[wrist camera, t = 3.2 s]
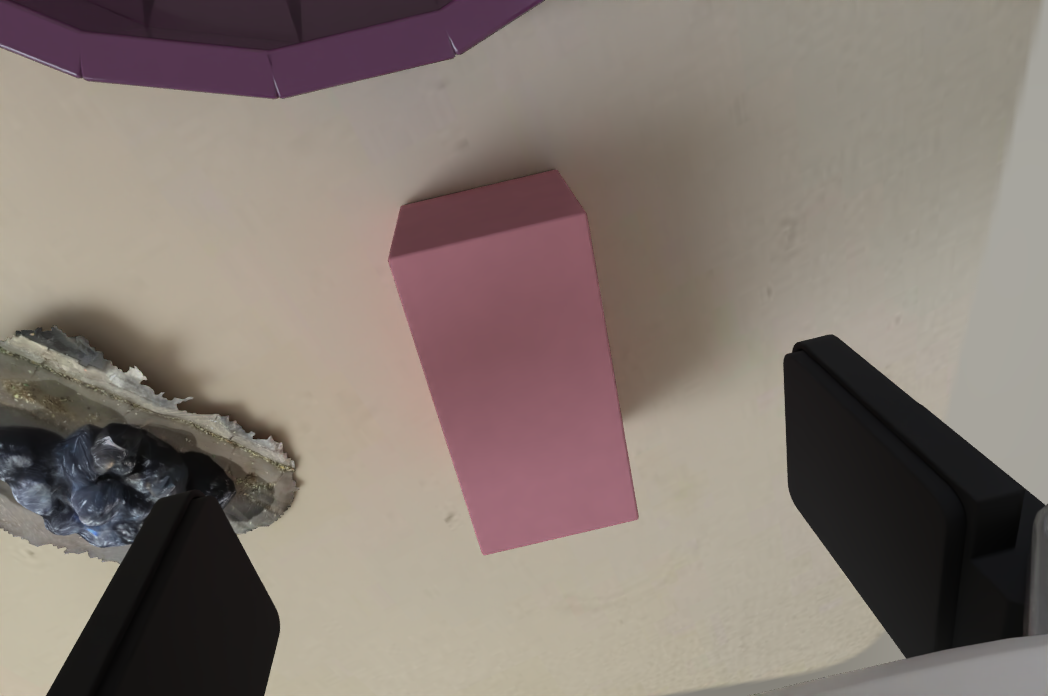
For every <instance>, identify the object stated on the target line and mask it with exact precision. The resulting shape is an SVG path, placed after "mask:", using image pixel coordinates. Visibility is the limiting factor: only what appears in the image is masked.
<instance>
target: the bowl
mask: <svg viewBox="0 0 1048 696" xmlns="http://www.w3.org/2000/svg"><path fill="white" fill-rule="evenodd" d="M543 1H545V0H0V48H2V49H5V50H7V51H10V52H13V53H15V54H18V55H20V56H23V57H25V58H28V59H30V60H33V61H35V62H38V63H40V64H43V65H45V66H48V67H50V68H53V69H55V70H58V71H60V72H63V73H66V74H68V75H71V76H73V77H76V78H83V79H84V80H87V81H91V82H101V83H112V84H122V85H132V86H143V87H153V88H164V89H174V90H184V91H195V92H205V93H216V94H226V95H237V96H247V97H257V98H268V99H277V98H279V97H280V98H282V99H284V98H288V97H293V96H297V95H301V94H305V93H309V92H314V91H318V90H322V89H326V88H331V87H335V86H339V85H343V84H347V83H352V82H356V81H360V80H364V79H369V78H373V77H377V76H381V75H385V74H390V73H394V72H398V71H402V70H406V69H411V68H415V67H419V66H423V65H428V64H432V63H436V62H440V61H444V60H449V59H453V58H454V57H455V55H461V54H463V53H464V52H466V51H468V50H469V49H471V48H472V47H474V46H475V45H477V44H478V43H480V42H481V41H483V40H485V39H486V38H488V37H489V36H491V35H492V34H494V33H495V32H497V31H498V30H500V29H502V28H503V27H505V26H506V25H508V24H509V23H511V22H512V21H514V20H516V19H517V18H519V17H520V16H522V15H523V14H525V13H526V12H528V11H529V10H531V9H533V8H534V7H536V6H537V5H539V4H540V3H542V2H543Z"/></svg>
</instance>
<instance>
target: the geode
mask: <svg viewBox="0 0 1048 696" xmlns="http://www.w3.org/2000/svg"><path fill="white" fill-rule="evenodd" d="M53 326H54V327H51V329H52V331H43V332H42V328H37V329H36V330H35V331H32V330H22V331H21V332H20V331H16V335H14V334H13V337H12V339H9V338H8V337H7V338H6V340H5V342H3V341H0V528H3V529H4V531H8V533H9V534H13V537H19V536H21V539H26V540H28V541H29V544H32V545H35V546H37V547H38V546H41V545H45V544H53V546H57V548H63V547H66V548H67V549H66V550H65V551H64V553H65V554H66V553H76V554H80V553H83V552H86V551H88V555H89V557H90V558H93V557H98V559H102V562H105V561H113V562H118V563H119V564H121V562H122V561H123V559H124V557H125V555H126V553H127V552H128V550H129V548H130V546H131V545H132V543H133V541H134V539H135V538H136V536H137V534H138V532H139V531H140V529H141V527H142V525H143V523H144V522H145V520H146V518H147V516H148V515H149V513H150V511H151V509H152V508H153V506H154V504H155V503H156V501H157V500H158V499H160V498H163V497H166V496H171V495H175V494H179V493H183V492H187V491H191V490H195V489H196V490H200V491H201V492H203V493H204V494H205V496H209V495H211V496H214V497H215V498H216V499H217V500H218V502H219V504H220V505H221V507H222V509H223V511H224V513H225V515H226V517H227V518H228V520H229V522H230V524H231V526H232V528H233V530H234V531H235V533H236V534H239V533H246V532H247V531H252V529H256V528H257V527H261V526H269V525H271V524H272V523H273V522H274V521H277V520H278V518H281V516H280V515H284V513H283V512H285V511H286V510H288V508H287V507H291V505H290V502H292V501H293V499H294V497H293V491H297V490H299V487H296V481H293V480H292V473H293V472H294V471H295V465H294V461H292V460H291V458H288V459H287V453H284V454H283V445H282V442H281V443H278V442H276V441H274V440H273V439H272V436H270V437H269V438H268V439H267V440H264V439H252V437H253V436H254V435H255V433H254V432H252V431H251V432H250V433H249V434H248V433H245V430H243V429H242V426H240V425H239V424H237V422H236V420H235V421H233V422H229V415H228V416H220V415H219V414H196V413H193V414H191V413H187V411H186V410H185V411H179V410H178V408H177V405H176V404H178V403H181V402H182V401H187V400H189V399H193V397H187V398H186V399H179V398H175V397H174V399H173V400H172V401H169V400H167V398H163V396H162V395H163V394H164V393H165V392H161V393H160V394H159V395H155V394H154V391H153V389H151V388H150V387H149V386H146V385H141V384H140V382H141V381H142V380H147V379H146V376H144V375H143V374H142V372H141V371H140V370H139V369H138V368H137V367H136V366H135V368H131V367H130V366H129V368H130V370H129V371H127V372H126V373H124V372H122V369H118V368H117V366H112V362H111V360H107V359H103V352H100V351H95V348H91V347H90V346H89V341H88V340H87V339H86V338H85V337H83V336H81V335H79V336H78V337H77V336H75V337H67V336H66V333H62V330H61V329H58V328H57V326H56V325H53ZM42 347H43V348H42ZM230 415H231V414H230ZM79 537H81V538H79Z"/></svg>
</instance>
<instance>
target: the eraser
mask: <svg viewBox="0 0 1048 696" xmlns="http://www.w3.org/2000/svg"><path fill="white" fill-rule="evenodd" d="M388 262H389V265H390V268H391V271H392V274H393V278H394V281H395V284H396V287H397V290H398V293H399V296H400V299H401V303H402V306H403V309H404V312H405V315H406V318H407V321H408V324H409V327H410V331H411V334H412V337H413V340H414V343H415V346H416V349H417V352H418V355H419V359H420V362H421V365H422V368H423V371H424V374H425V377H426V380H427V383H428V387H429V390H430V393H431V396H432V399H433V402H434V405H435V408H436V412H437V415H438V418H439V421H440V424H441V427H442V430H443V433H444V436H445V440H446V443H447V446H448V449H449V452H450V455H451V458H452V461H453V464H454V468H455V471H456V474H457V477H458V480H459V483H460V486H461V489H462V492H463V496H464V499H465V502H466V505H467V508H468V511H469V514H470V517H471V521H472V524H473V527H474V530H475V533H476V536H477V539H478V542H479V545H480V549H481V552H482V554H483V555H488V554H492V553H496V552H501V551H505V550H509V549H514V548H518V547H522V546H527V545H531V544H535V543H539V542H544V541H548V540H552V539H557V538H561V537H565V536H569V535H574V534H578V533H582V532H587V531H591V530H595V529H599V528H604V527H608V526H612V525H617V524H621V523H625V522H630V521H634V520H637V519H638V517H639V516H638V510H637V504H636V498H635V492H634V487H633V481H632V475H631V469H630V463H629V457H628V451H627V446H626V440H625V434H624V428H623V422H622V416H621V411H620V405H619V399H618V393H617V387H616V381H615V376H614V370H613V364H612V358H611V352H610V346H609V341H608V335H607V329H606V323H605V317H604V311H603V306H602V300H601V294H600V288H599V282H598V276H597V271H596V265H595V259H594V253H593V247H592V241H591V236H590V230H589V224H588V218H587V214H586V212H585V211H584V209H583V208H582V206H581V205H580V203H579V202H578V200H577V199H576V197H575V196H574V194H573V193H572V191H571V190H570V188H569V187H568V185H567V184H566V182H565V181H564V179H563V178H562V176H561V175H560V173H559V172H558V170H551V171H547V172H542V173H538V174H534V175H530V176H525V177H521V178H517V179H513V180H508V181H504V182H500V183H496V184H491V185H487V186H483V187H479V188H475V189H470V190H466V191H462V192H458V193H453V194H449V195H445V196H441V197H436V198H432V199H428V200H424V201H419V202H415V203H411V204H407V205H403V206H401V207H400V211H399V216H398V220H397V224H396V228H395V232H394V237H393V241H392V245H391V249H390V254H389V258H388Z"/></svg>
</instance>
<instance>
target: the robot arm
mask: <svg viewBox="0 0 1048 696" xmlns="http://www.w3.org/2000/svg"><path fill="white" fill-rule="evenodd" d="M783 366H784V393H785V420H786V446H787V473H788V488H789V492H790V495H791V498H792V500H793V502H794V504H795V506H796V507H797V509H798V510H799V512H800V513H801V514H802V516H803V517H804V518H805V520H806V521H807V523H808V524H809V525H810V527H811V528H812V529H813V531H814V532H815V534H816V535H817V536H818V538H819V539H820V540H821V542H822V543H823V545H824V546H825V547H826V549H827V550H828V551H829V553H830V554H831V556H832V557H833V558H834V560H835V561H836V562H837V564H838V565H839V567H840V568H841V569H842V571H843V572H844V573H845V575H846V576H847V578H848V579H849V580H850V582H851V583H852V584H853V586H854V587H855V589H856V590H857V591H858V593H859V594H860V595H861V597H862V598H863V600H864V601H865V602H866V604H867V605H868V606H869V608H870V609H871V611H872V612H873V613H874V615H875V616H876V617H877V619H878V620H879V622H880V623H881V624H882V626H883V627H884V628H885V630H886V631H887V633H888V634H889V635H890V637H891V638H892V639H893V641H894V642H895V644H896V645H897V646H898V648H899V649H900V650H901V652H902V653H903V655H904V656H905V657H906V659H903V660H898V661H894V662H889V663H885V664H881V665H876V666H872V667H867V668H863V669H858V670H854V671H849V672H845V673H840V674H836V675H832V676H828V677H823V678H819V679H815V680H811V681H807V682H803V683H799V684H795V685H791V686H786V687H782V688H778V689H774V690H770V691H766V692H762V693H758V694H754V695H749V696H1048V504H1047V505H1044V504H1043V503H1042V502H1041V501H1040V500H1038V499H1037V498H1036V497H1035V496H1034V495H1032V494H1031V493H1030V492H1029V491H1027V490H1026V489H1025V488H1024V487H1022V486H1021V485H1020V484H1019V483H1017V482H1016V481H1015V480H1013V478H1011V477H1010V476H1009V475H1007V474H1006V473H1005V472H1004V471H1003V470H1001V469H1000V468H999V467H998V466H997V465H995V464H994V463H993V462H992V461H990V460H989V459H988V458H987V457H985V456H984V455H983V454H982V453H981V452H979V451H978V450H977V449H976V448H974V447H973V446H972V445H971V444H969V443H968V442H967V441H966V440H964V439H963V438H962V437H961V436H960V435H958V434H957V433H956V432H955V431H953V430H952V429H951V428H950V427H948V426H947V425H946V424H945V423H944V422H942V421H941V420H940V419H939V418H937V417H936V416H935V415H934V414H932V413H931V412H930V411H929V410H928V409H926V408H925V407H924V406H923V405H921V404H919V403H918V402H916V401H915V400H914V399H913V398H911V397H910V396H909V395H908V394H907V393H905V392H904V391H903V390H902V389H900V388H899V387H898V386H897V385H895V384H894V383H893V382H892V381H891V380H889V379H888V378H887V377H886V376H884V375H883V374H882V373H881V372H879V371H878V370H877V369H876V368H875V367H873V366H872V365H871V364H870V363H868V362H867V361H866V360H865V359H863V358H862V357H861V356H860V355H859V354H857V353H856V352H855V351H854V350H852V349H851V348H850V347H849V346H848V345H846V344H845V343H844V342H843V341H841V340H840V339H839V338H838V337H836V336H834V335H825V336H821V337H817V338H813V339H809V340H805V341H801V342H797V343H796V344H795V345H794V347H793V351H792V353H789V354H786V355H785V357H784V363H783ZM279 633H280V620H279V615H278V612H277V610H276V608H275V606H274V604H273V602H272V600H271V598H270V596H269V595H268V593H267V591H266V589H265V587H264V585H263V583H262V582H261V580H260V578H259V576H258V574H257V572H256V570H255V569H254V567H253V565H252V563H251V561H250V559H249V557H248V556H247V554H246V552H245V550H244V548H243V546H242V544H241V543H240V541H239V539H238V537H237V535H236V533H235V531H234V530H233V528H232V526H231V524H230V522H229V520H228V518H227V517H226V515H225V513H224V511H223V509H222V507H221V505H220V504H219V502H218V500H217V499H216V498H215V497H214V496H211V495H209V496H205V494H204V493H203V492H201V491H200V490H196V489H195V490H191V491H187V492H183V493H179V494H175V495H171V496H166V497H163V498H160V499H158V500H157V501H156V503H155V504H154V506H153V508H152V509H151V511H150V513H149V515H148V516H147V518H146V520H145V522H144V523H143V525H142V527H141V529H140V531H139V532H138V534H137V536H136V538H135V539H134V541H133V543H132V545H131V546H130V548H129V550H128V552H127V553H126V555H125V557H124V559H123V561H122V562H121V564H120V566H119V568H118V569H117V571H116V573H115V575H114V576H113V578H112V580H111V582H110V584H109V585H108V587H107V589H106V591H105V592H104V594H103V596H102V598H101V599H100V601H99V603H98V605H97V607H96V608H95V610H94V612H93V614H92V615H91V617H90V619H89V621H88V622H87V624H86V626H85V628H84V630H83V631H82V633H81V635H80V637H79V638H78V640H77V642H76V644H75V645H74V647H73V649H72V651H71V652H70V654H69V656H68V658H67V660H66V661H65V663H64V665H63V667H62V668H61V670H60V672H59V674H58V675H57V677H56V679H55V681H54V683H53V684H52V686H51V688H50V690H49V691H48V693H47V695H46V696H264V694H265V690H266V686H267V682H268V678H269V674H270V670H271V666H272V662H273V658H274V654H275V650H276V646H277V642H278V638H279Z"/></svg>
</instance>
